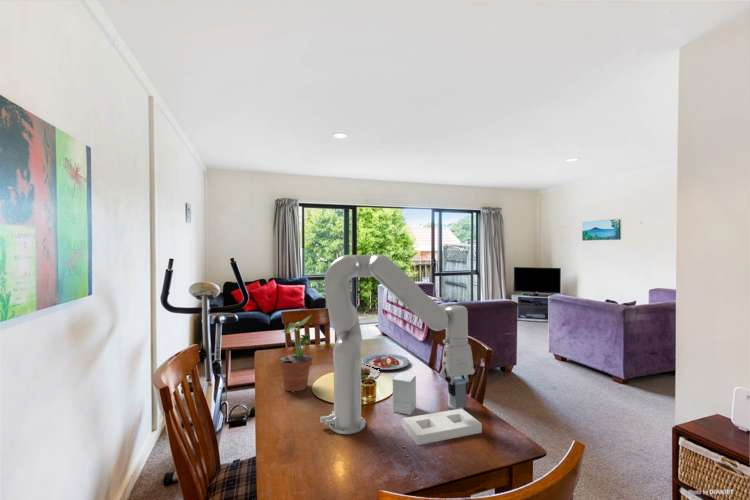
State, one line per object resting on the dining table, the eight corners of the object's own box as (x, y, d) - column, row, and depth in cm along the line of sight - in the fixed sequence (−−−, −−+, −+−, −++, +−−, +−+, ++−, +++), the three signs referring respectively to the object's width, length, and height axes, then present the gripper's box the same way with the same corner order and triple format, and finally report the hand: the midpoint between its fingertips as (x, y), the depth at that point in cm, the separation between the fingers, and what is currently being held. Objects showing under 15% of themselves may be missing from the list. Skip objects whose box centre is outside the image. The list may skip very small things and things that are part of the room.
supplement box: (416, 407, 135) (416, 375, 135) (410, 415, 129) (410, 381, 129) (399, 404, 138) (399, 372, 139) (392, 411, 132) (392, 378, 132)
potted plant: (315, 380, 163) (315, 306, 164) (309, 393, 148) (310, 312, 148) (281, 381, 163) (282, 307, 163) (273, 394, 148) (273, 312, 148)
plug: (456, 408, 118) (455, 381, 118) (449, 403, 122) (449, 377, 122) (466, 406, 119) (465, 380, 119) (459, 401, 123) (459, 376, 123)
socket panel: (417, 445, 109) (417, 435, 109) (402, 426, 120) (402, 418, 120) (481, 432, 117) (481, 423, 117) (461, 416, 128) (461, 408, 128)
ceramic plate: (359, 358, 198) (359, 353, 198) (402, 356, 203) (402, 351, 203) (366, 374, 173) (366, 368, 173) (415, 371, 177) (415, 365, 177)
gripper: (441, 346, 114) (441, 401, 114) (483, 341, 120) (484, 394, 120) (430, 341, 121) (431, 393, 121) (471, 336, 127) (471, 386, 127)
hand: (457, 393), depth 120 cm, fingers closed on plug, 4 cm apart
